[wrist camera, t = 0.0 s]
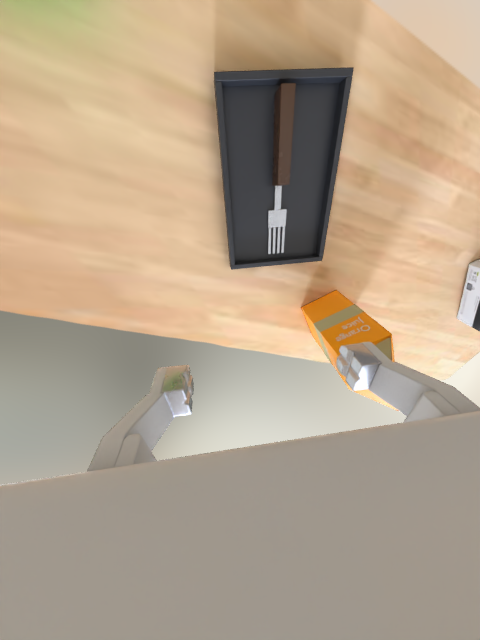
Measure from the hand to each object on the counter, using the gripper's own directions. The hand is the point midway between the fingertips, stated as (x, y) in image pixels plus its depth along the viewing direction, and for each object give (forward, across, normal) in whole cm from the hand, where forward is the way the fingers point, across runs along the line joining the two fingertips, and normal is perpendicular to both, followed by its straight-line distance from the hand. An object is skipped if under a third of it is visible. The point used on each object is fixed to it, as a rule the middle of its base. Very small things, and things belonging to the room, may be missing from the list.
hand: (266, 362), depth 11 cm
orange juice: (+27, -18, +15) cm, 36 cm away
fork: (+26, -8, -8) cm, 28 cm away
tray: (+26, -8, -8) cm, 29 cm away
